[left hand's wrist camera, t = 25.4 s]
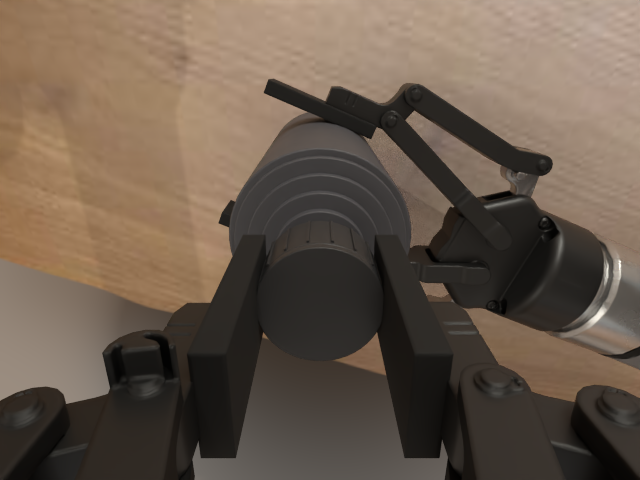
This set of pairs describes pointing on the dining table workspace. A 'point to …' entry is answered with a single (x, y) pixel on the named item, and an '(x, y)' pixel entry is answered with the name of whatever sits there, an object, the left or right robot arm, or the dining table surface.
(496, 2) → the dining table surface
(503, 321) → the dining table surface
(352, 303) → the cap
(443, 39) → the dining table surface
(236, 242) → the bottle
